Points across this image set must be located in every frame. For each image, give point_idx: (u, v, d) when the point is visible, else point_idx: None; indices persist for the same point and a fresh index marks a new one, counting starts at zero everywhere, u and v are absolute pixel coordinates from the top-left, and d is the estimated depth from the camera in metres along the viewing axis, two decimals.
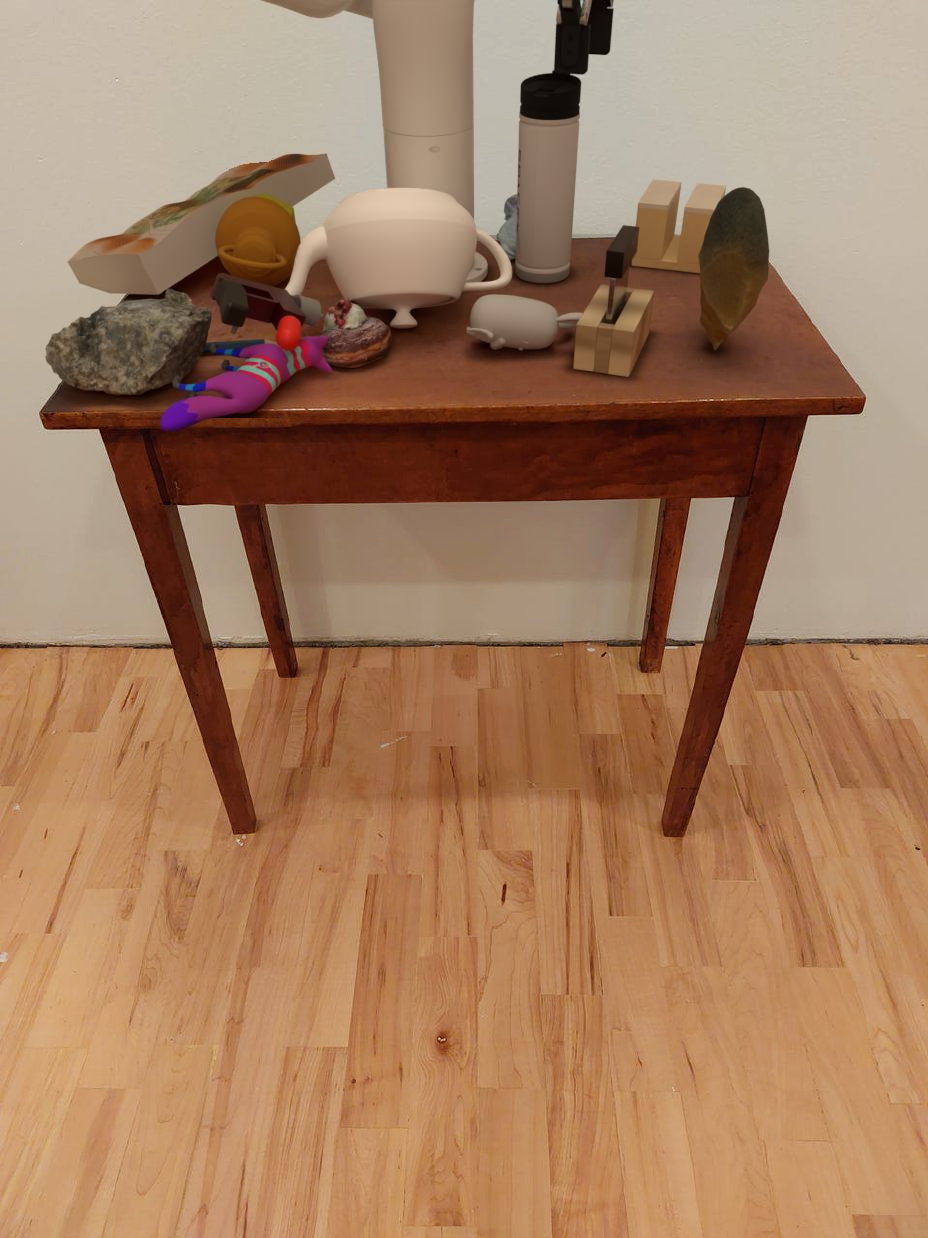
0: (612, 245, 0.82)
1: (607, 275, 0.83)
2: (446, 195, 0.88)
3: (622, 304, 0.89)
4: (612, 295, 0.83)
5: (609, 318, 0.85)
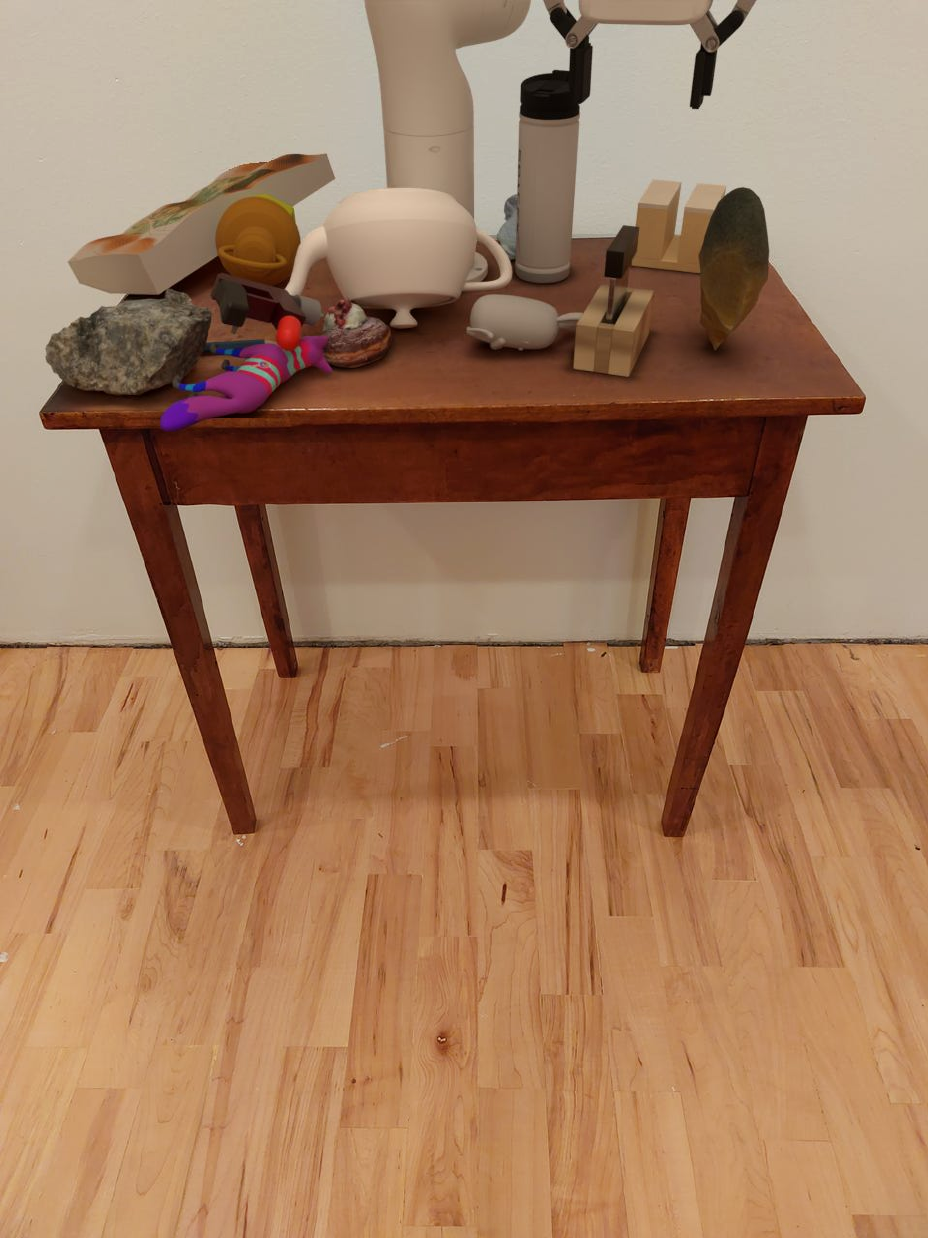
0: (612, 245, 0.82)
1: (607, 275, 0.83)
2: (446, 195, 0.88)
3: (622, 304, 0.89)
4: (612, 295, 0.83)
5: (609, 318, 0.85)
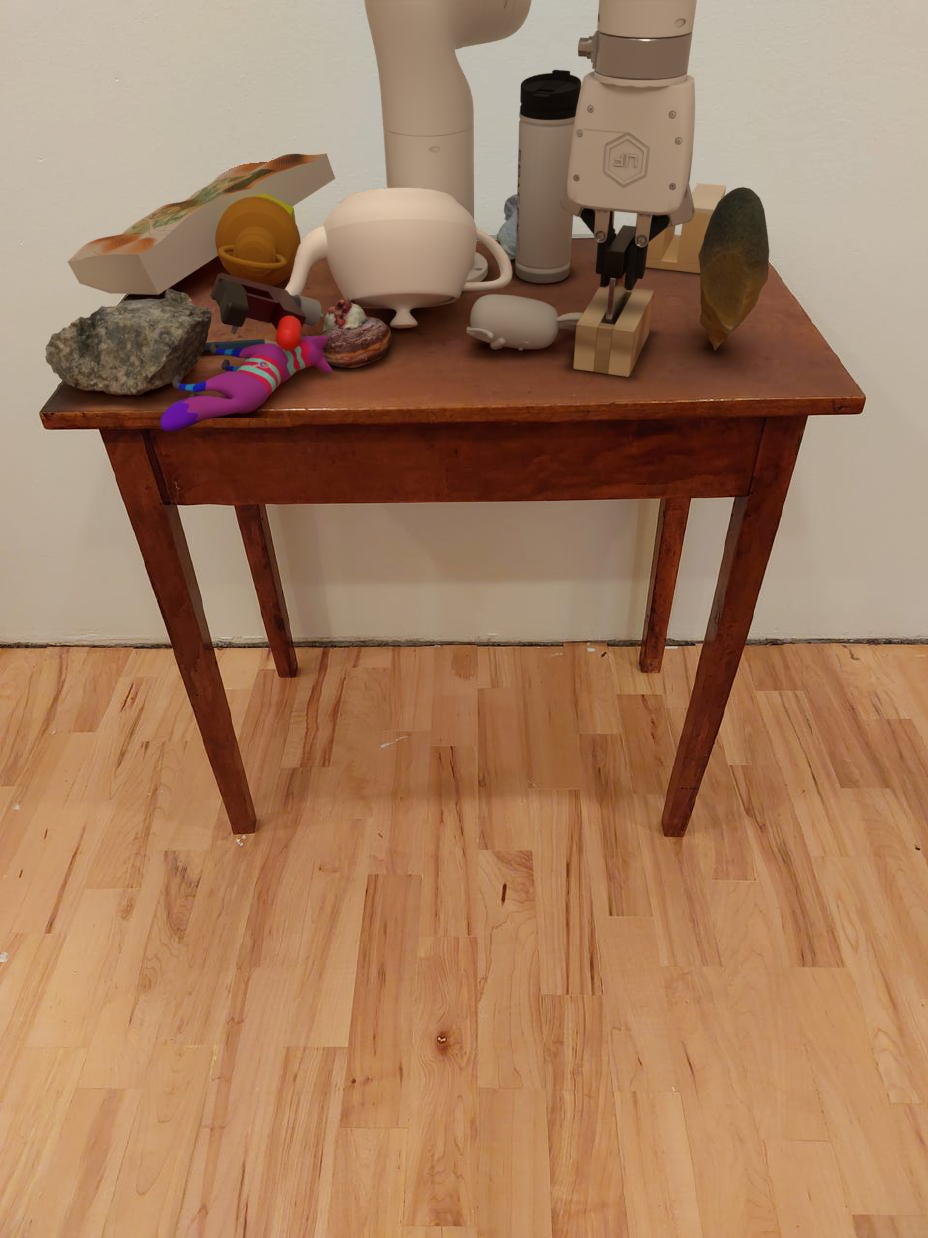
0: (612, 245, 0.82)
1: (607, 275, 0.83)
2: (446, 195, 0.88)
3: (622, 304, 0.89)
4: (612, 295, 0.83)
5: (609, 318, 0.85)
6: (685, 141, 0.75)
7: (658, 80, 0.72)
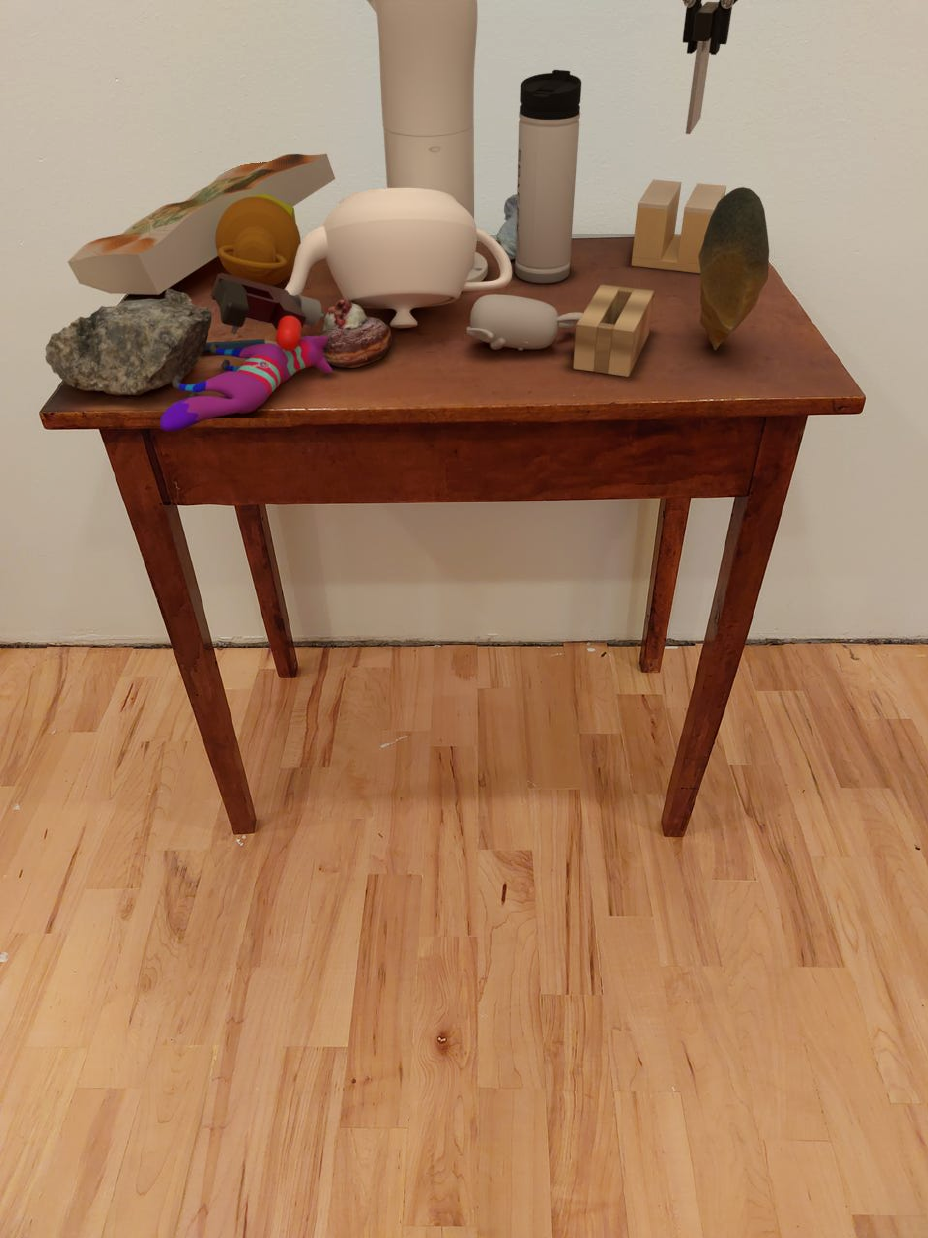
0: (700, 10, 0.91)
1: (695, 38, 0.92)
2: (446, 195, 0.88)
3: (703, 80, 0.98)
4: (699, 58, 0.93)
5: (695, 83, 0.94)
6: None
7: None
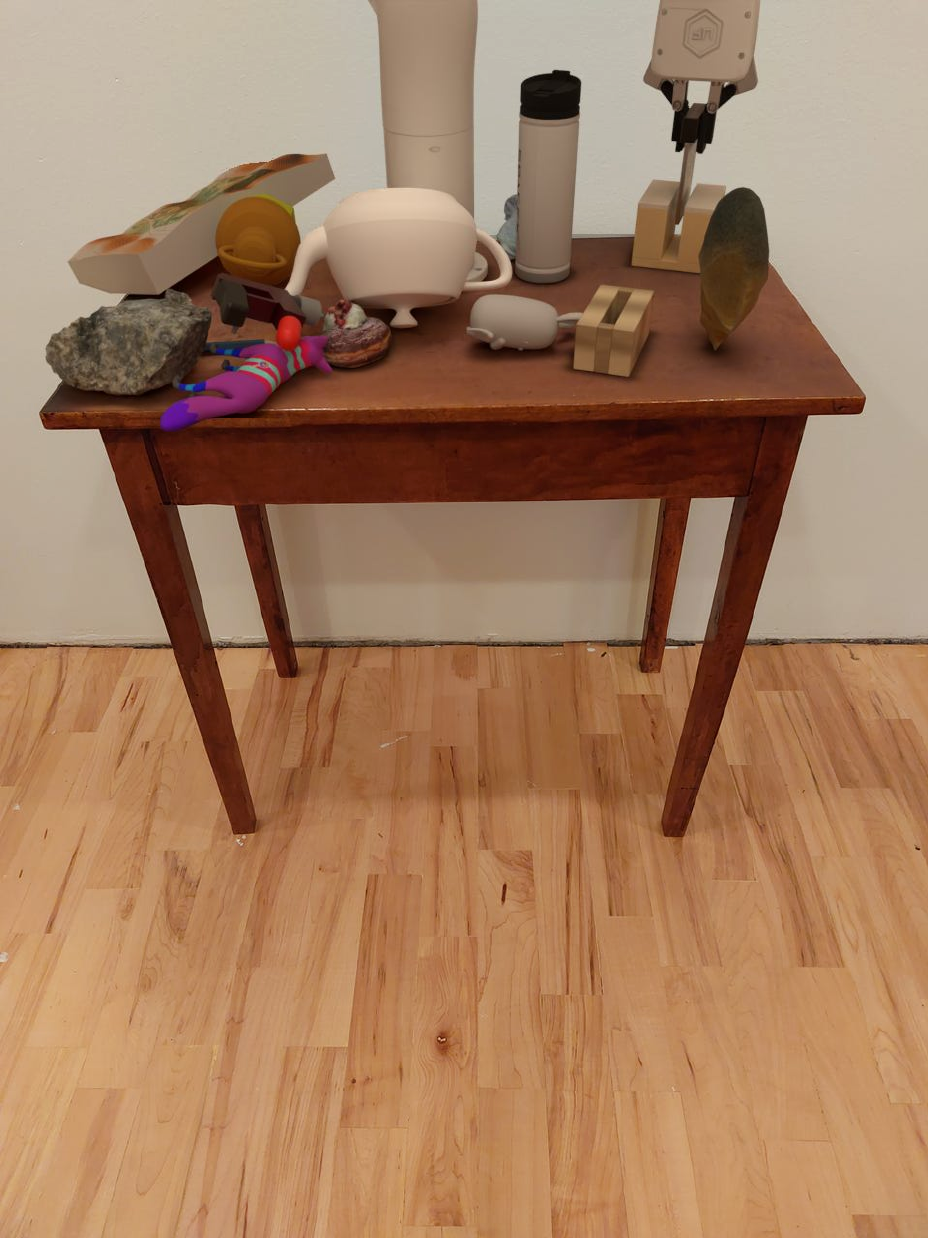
0: (687, 115, 0.98)
1: (683, 140, 0.99)
2: (446, 195, 0.88)
3: (691, 173, 1.05)
4: (686, 158, 1.00)
5: (683, 180, 1.01)
6: (753, 15, 0.91)
7: None
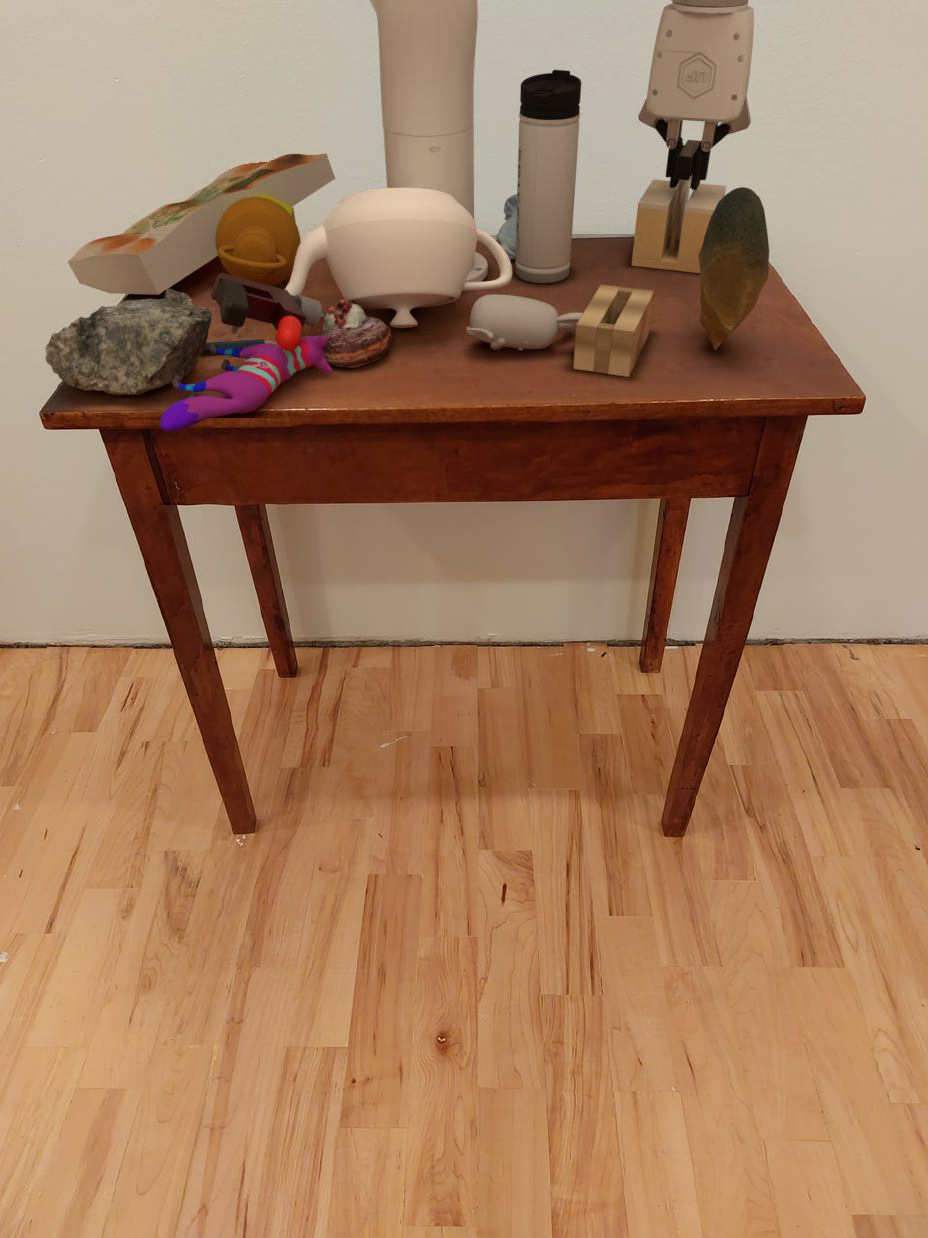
0: (681, 152, 1.00)
1: (677, 177, 1.01)
2: (446, 195, 0.88)
3: None
4: (680, 195, 1.02)
5: (677, 215, 1.03)
6: (746, 58, 0.93)
7: (726, 7, 0.90)
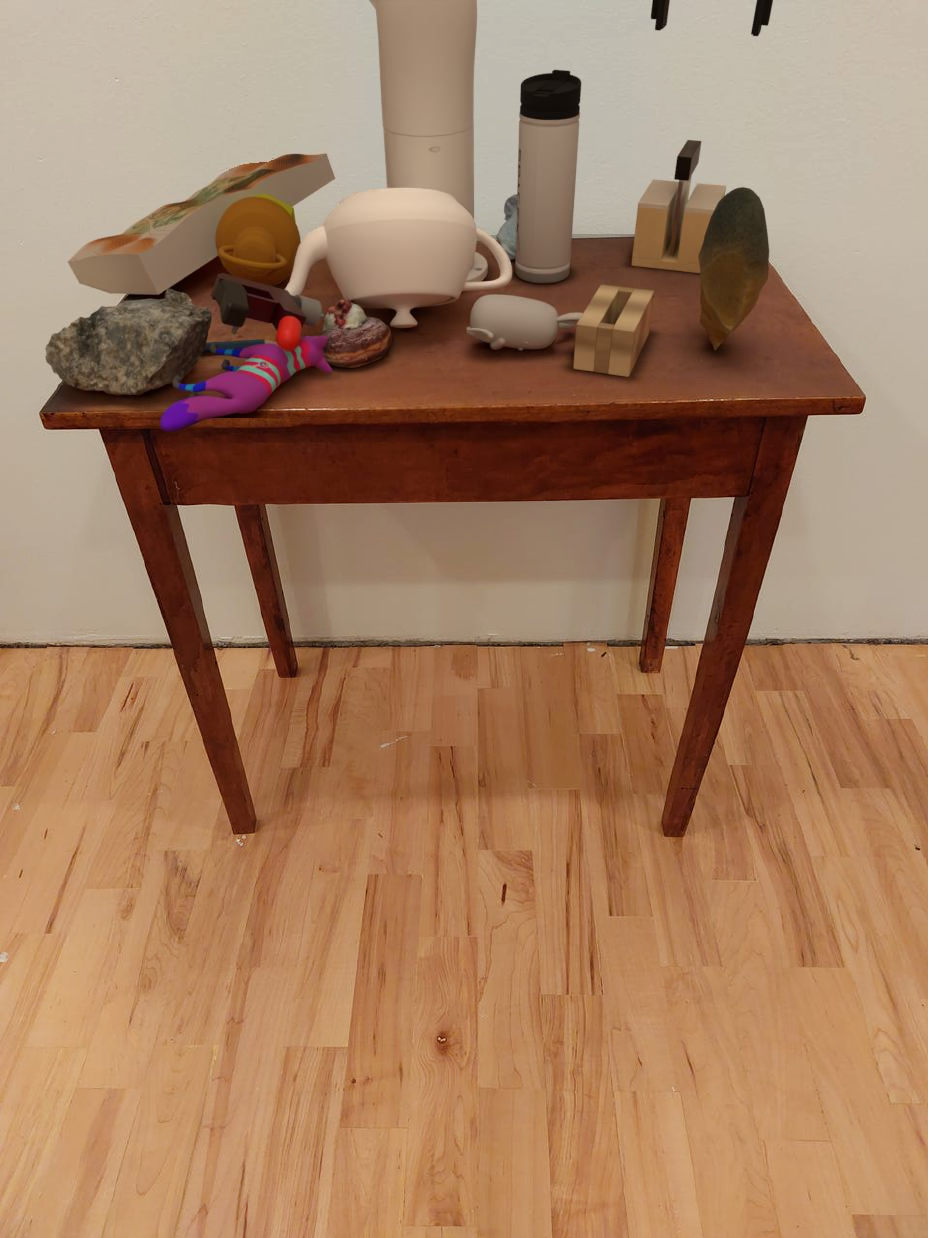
0: (681, 153, 1.00)
1: (677, 178, 1.01)
2: (446, 195, 0.88)
3: None
4: (680, 195, 1.02)
5: (677, 215, 1.03)
6: None
7: None
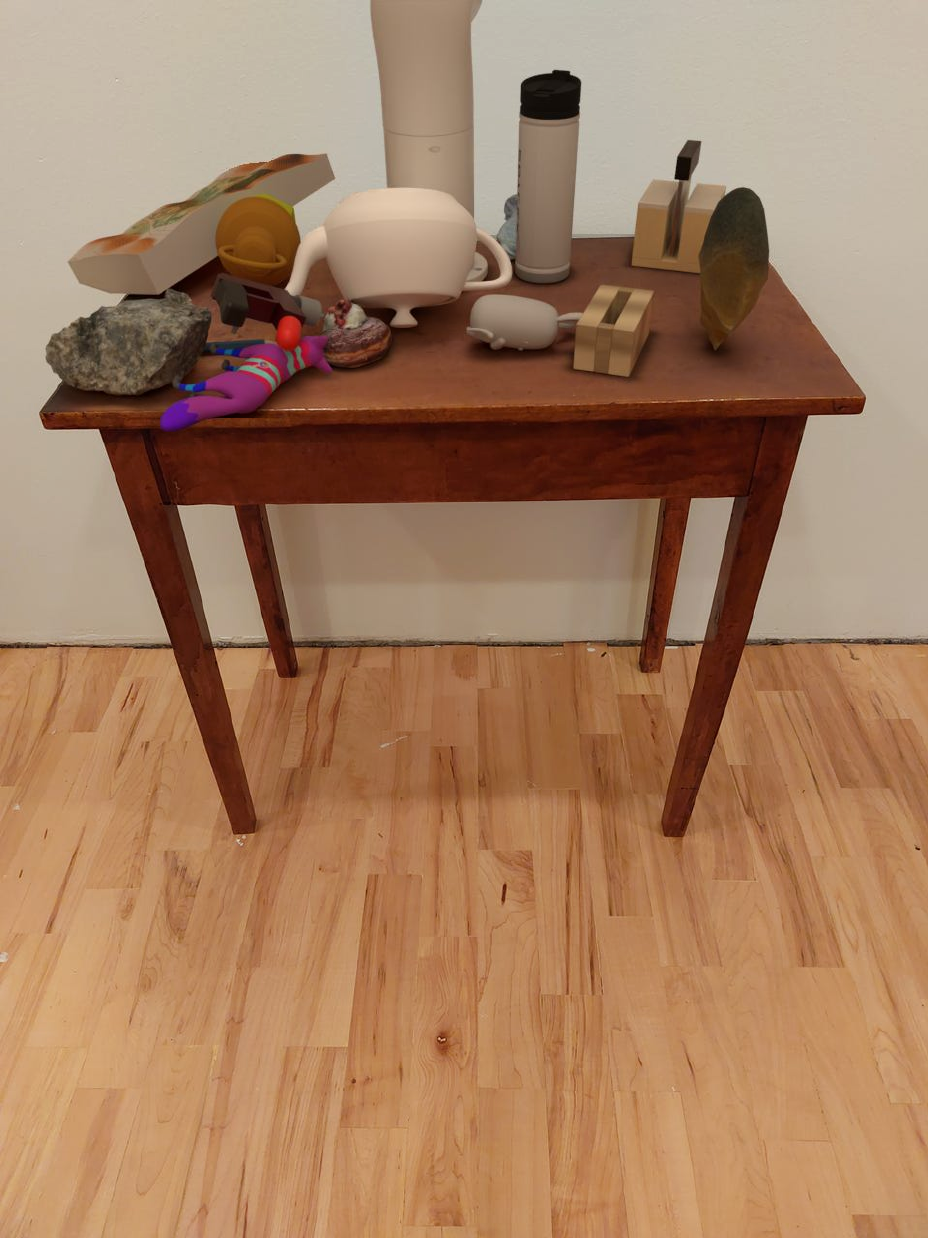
0: (681, 153, 1.00)
1: (677, 178, 1.01)
2: (446, 195, 0.88)
3: None
4: (680, 195, 1.02)
5: (677, 215, 1.03)
6: None
7: None
